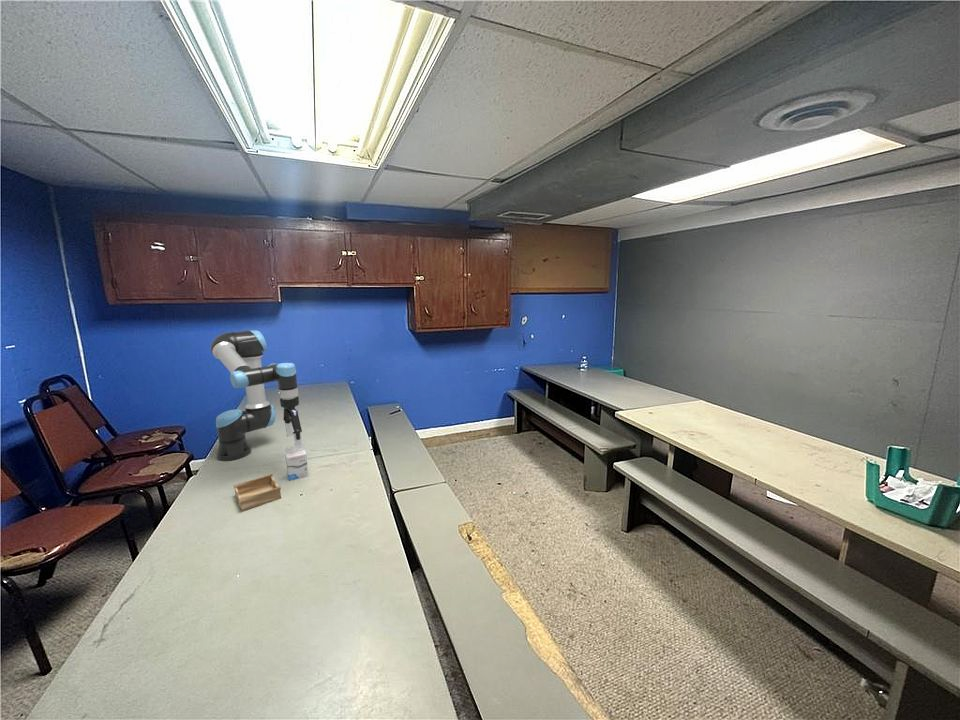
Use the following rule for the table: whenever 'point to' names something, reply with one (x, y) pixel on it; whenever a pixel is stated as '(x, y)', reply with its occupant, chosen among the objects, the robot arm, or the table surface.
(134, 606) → the table surface
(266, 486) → the crate
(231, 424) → the robot arm
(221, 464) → the table surface
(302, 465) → the ink box
